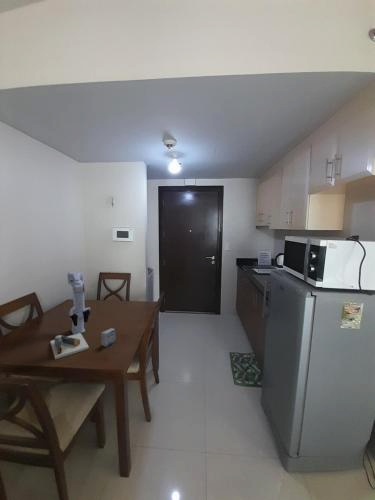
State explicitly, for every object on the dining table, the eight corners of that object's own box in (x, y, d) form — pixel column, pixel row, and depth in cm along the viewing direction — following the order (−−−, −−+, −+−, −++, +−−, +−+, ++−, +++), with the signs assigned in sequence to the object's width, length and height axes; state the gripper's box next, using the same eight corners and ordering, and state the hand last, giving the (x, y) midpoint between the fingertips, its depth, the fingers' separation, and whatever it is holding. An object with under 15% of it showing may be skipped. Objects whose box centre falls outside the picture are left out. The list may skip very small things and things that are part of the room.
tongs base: (53, 342, 138) (53, 337, 138) (62, 340, 141) (61, 335, 141) (57, 354, 125) (57, 349, 125) (66, 351, 128) (66, 346, 128)
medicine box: (106, 347, 136) (105, 334, 135) (101, 345, 138) (100, 332, 137) (115, 341, 143) (115, 329, 142) (111, 339, 145) (110, 327, 144)
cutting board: (50, 343, 140) (50, 340, 140) (80, 335, 151) (80, 332, 151) (55, 359, 123) (55, 356, 123) (88, 348, 134) (88, 346, 134)
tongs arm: (54, 343, 137) (53, 337, 136) (59, 339, 141) (59, 334, 141) (74, 347, 132) (74, 341, 132) (80, 343, 136) (80, 338, 136)
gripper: (74, 305, 132) (75, 327, 131) (93, 300, 145) (94, 321, 144) (66, 305, 135) (67, 327, 134) (85, 300, 148) (86, 320, 147)
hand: (80, 324), depth 139 cm, fingers open, 7 cm apart
